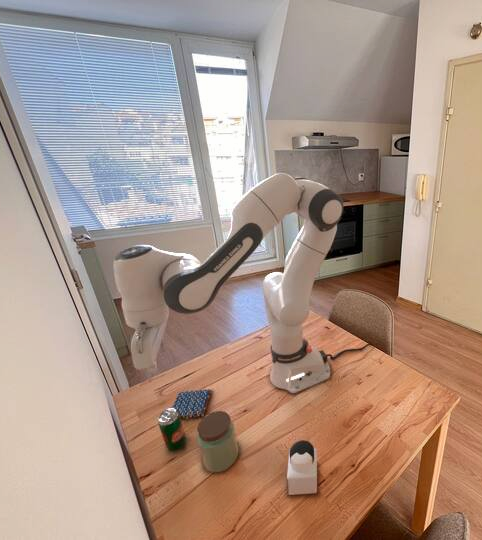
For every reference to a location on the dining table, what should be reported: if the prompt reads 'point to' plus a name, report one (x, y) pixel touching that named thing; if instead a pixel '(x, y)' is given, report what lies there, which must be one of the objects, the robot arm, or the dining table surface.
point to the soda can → (172, 429)
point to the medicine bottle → (302, 468)
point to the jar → (217, 441)
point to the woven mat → (192, 403)
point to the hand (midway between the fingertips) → (156, 357)
